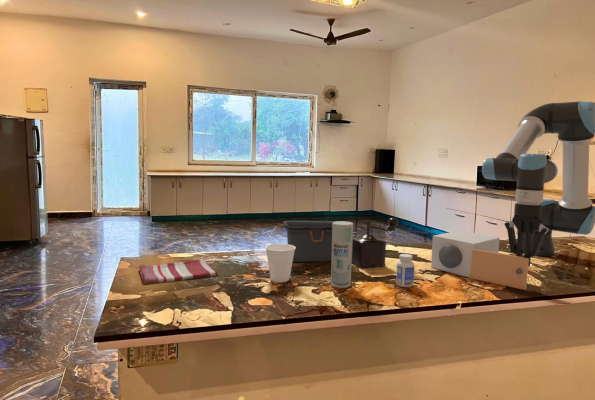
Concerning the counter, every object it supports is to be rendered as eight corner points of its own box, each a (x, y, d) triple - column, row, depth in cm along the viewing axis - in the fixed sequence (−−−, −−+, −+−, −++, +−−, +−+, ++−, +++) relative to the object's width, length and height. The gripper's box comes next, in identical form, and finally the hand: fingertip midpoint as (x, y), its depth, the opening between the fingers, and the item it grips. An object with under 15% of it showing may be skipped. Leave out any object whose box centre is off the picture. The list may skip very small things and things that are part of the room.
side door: (526, 289, 134) (528, 258, 133) (524, 290, 132) (527, 259, 131) (471, 277, 145) (473, 248, 144) (468, 278, 143) (471, 249, 142)
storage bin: (332, 254, 174) (333, 219, 173) (344, 264, 159) (345, 227, 157) (281, 255, 170) (282, 220, 168) (288, 266, 155) (289, 228, 153)
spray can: (351, 282, 138) (354, 221, 136) (350, 288, 132) (352, 225, 129) (331, 280, 139) (333, 220, 137) (329, 287, 133) (331, 224, 130)
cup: (299, 277, 142) (299, 245, 141) (288, 286, 133) (289, 252, 131) (271, 274, 145) (272, 242, 144) (259, 282, 136) (260, 248, 135)
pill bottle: (414, 283, 138) (416, 254, 137) (411, 288, 133) (413, 258, 132) (397, 281, 140) (399, 252, 139) (394, 285, 136) (395, 256, 134)
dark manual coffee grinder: (361, 269, 154) (363, 220, 151) (348, 261, 164) (349, 215, 162) (398, 266, 159) (401, 218, 157) (383, 258, 169) (385, 213, 167)
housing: (457, 260, 169) (459, 230, 168) (497, 269, 157) (499, 237, 155) (428, 268, 157) (430, 236, 155) (468, 279, 144) (471, 244, 143)
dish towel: (138, 271, 146) (138, 264, 146) (205, 264, 157) (205, 257, 156) (144, 286, 131) (143, 278, 131) (218, 277, 142) (218, 269, 141)
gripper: (502, 201, 136) (496, 273, 139) (545, 206, 126) (538, 283, 129) (512, 200, 140) (506, 269, 143) (556, 204, 130) (548, 279, 133)
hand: (521, 276), depth 136 cm, fingers closed
